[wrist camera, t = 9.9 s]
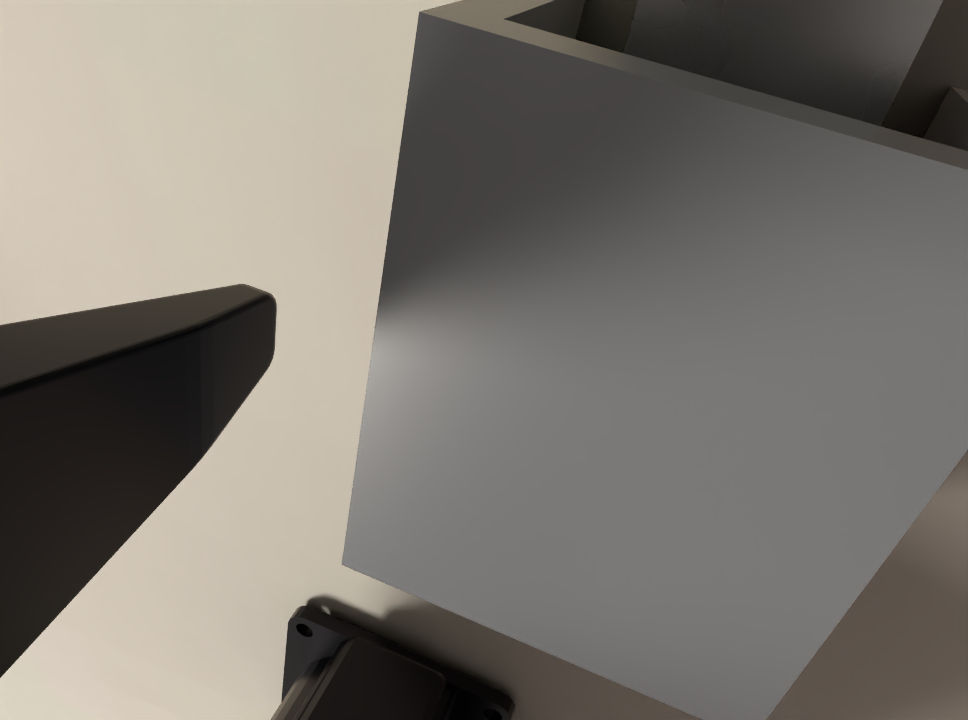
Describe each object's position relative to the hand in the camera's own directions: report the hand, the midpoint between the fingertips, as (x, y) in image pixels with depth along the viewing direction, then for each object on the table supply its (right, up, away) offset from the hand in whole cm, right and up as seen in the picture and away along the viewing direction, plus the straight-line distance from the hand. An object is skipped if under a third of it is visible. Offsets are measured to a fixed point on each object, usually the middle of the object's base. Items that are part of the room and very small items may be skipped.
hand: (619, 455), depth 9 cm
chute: (+2, +2, +4) cm, 5 cm away
